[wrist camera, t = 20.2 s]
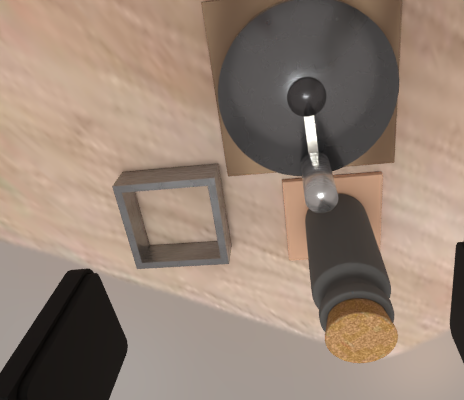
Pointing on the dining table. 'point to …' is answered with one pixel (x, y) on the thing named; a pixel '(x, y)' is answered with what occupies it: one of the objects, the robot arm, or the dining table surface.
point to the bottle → (350, 283)
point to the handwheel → (308, 91)
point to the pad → (355, 185)
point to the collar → (173, 252)
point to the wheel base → (239, 14)
